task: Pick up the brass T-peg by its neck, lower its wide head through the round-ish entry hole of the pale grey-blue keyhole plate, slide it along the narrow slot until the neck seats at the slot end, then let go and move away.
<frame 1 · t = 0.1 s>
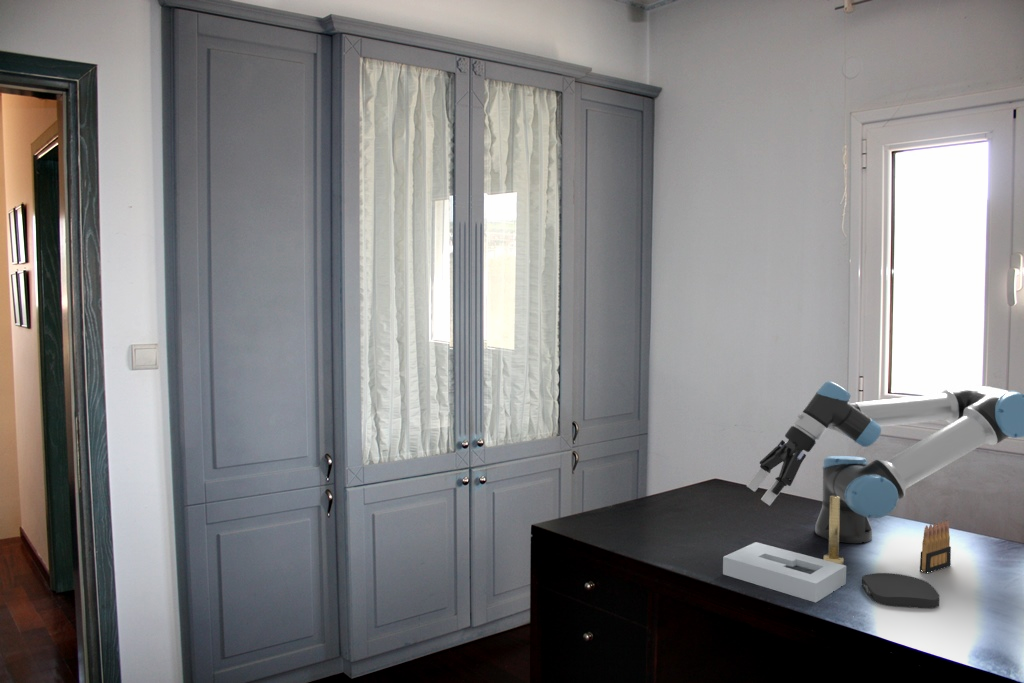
hand: (757, 495, 208), 15 cm above the table, tool tilted 35°, fingers open, 13 cm apart
media streaming box: (899, 596, 179), on the table
ammunition clip: (935, 569, 196), on the table
brass peg: (833, 564, 198), on the table
keyhole plate: (783, 578, 189), on the table
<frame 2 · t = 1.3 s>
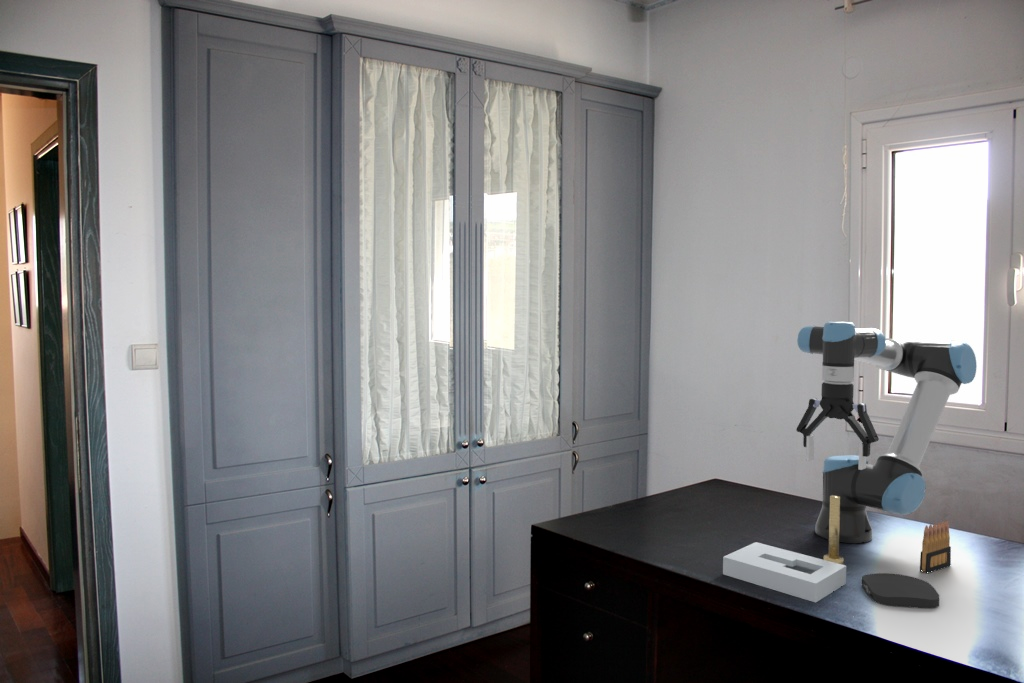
hand: (835, 464, 197), 26 cm above the table, tool pointing down, fingers open, 13 cm apart
nothing on the table moved.
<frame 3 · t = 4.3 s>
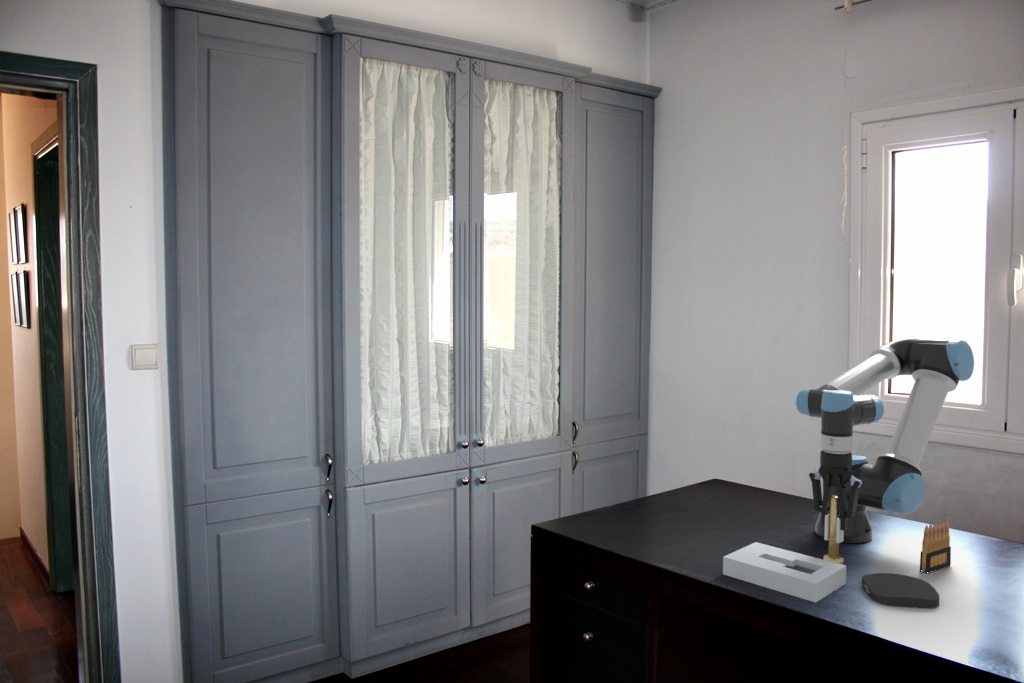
hand: (833, 540, 198), 7 cm above the table, tool pointing down, fingers closed on brass peg, 2 cm apart
brass peg: (833, 564, 198), on the table, touching gripper
everything else where it was.
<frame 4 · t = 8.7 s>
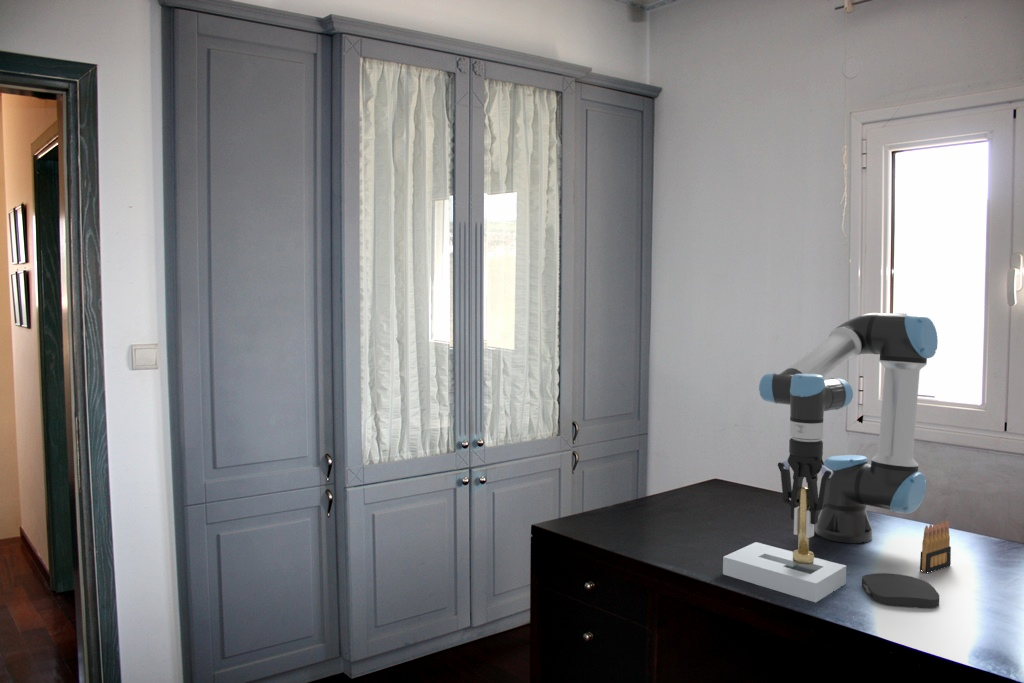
hand: (803, 534, 184), 12 cm above the table, tool pointing down, fingers closed on brass peg, 2 cm apart
brass peg: (803, 561, 185), point 6 cm above the table, touching gripper
everything else where it was.
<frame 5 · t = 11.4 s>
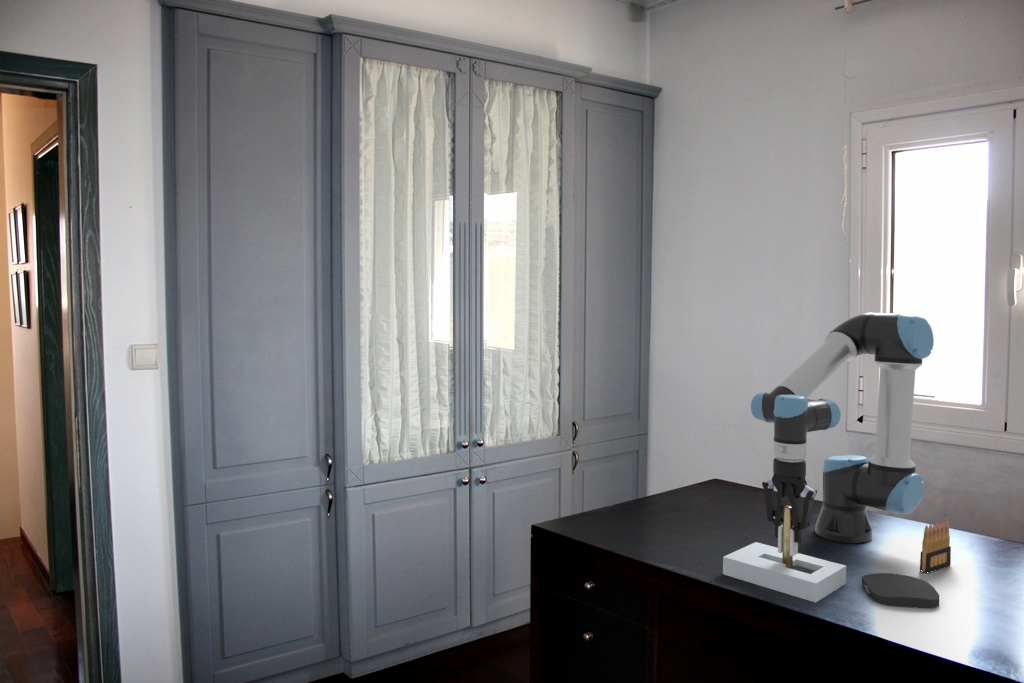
hand: (787, 552, 188), 7 cm above the table, tool pointing down, fingers closed on brass peg, 2 cm apart
brass peg: (787, 578, 188), resting in keyhole plate, touching gripper
everything else where it was.
when the fingers open (7 cm above the table, at t = 13.4 s): brass peg stays where it is, resting in keyhole plate.
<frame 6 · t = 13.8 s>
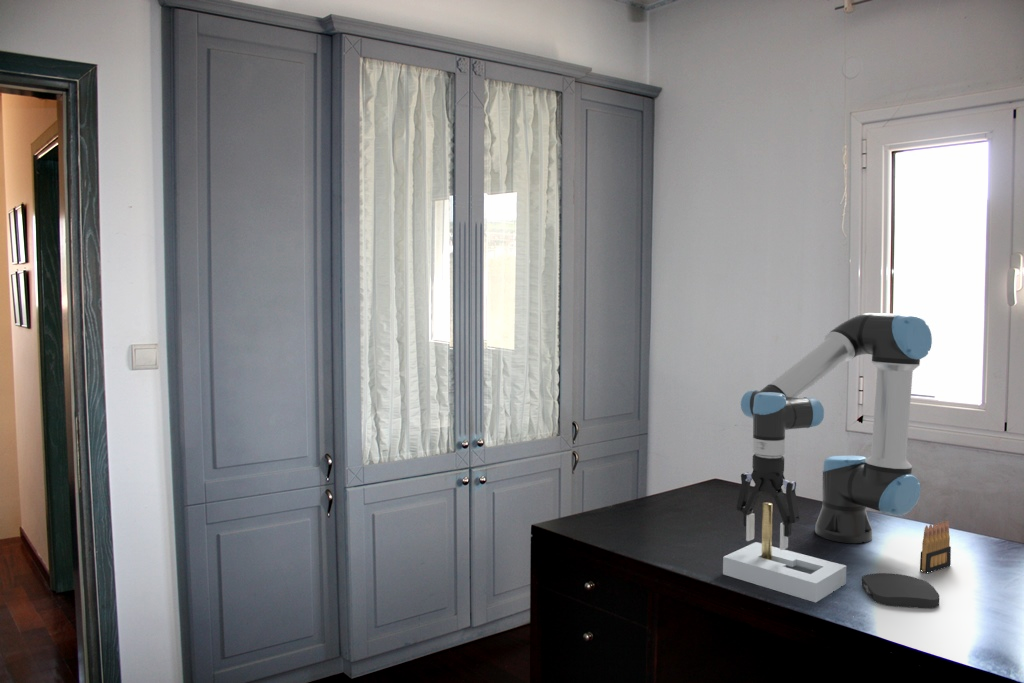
hand: (766, 543, 192), 8 cm above the table, tool pointing down, fingers open, 8 cm apart
brass peg: (766, 574, 192), resting in keyhole plate
everything else where it was.
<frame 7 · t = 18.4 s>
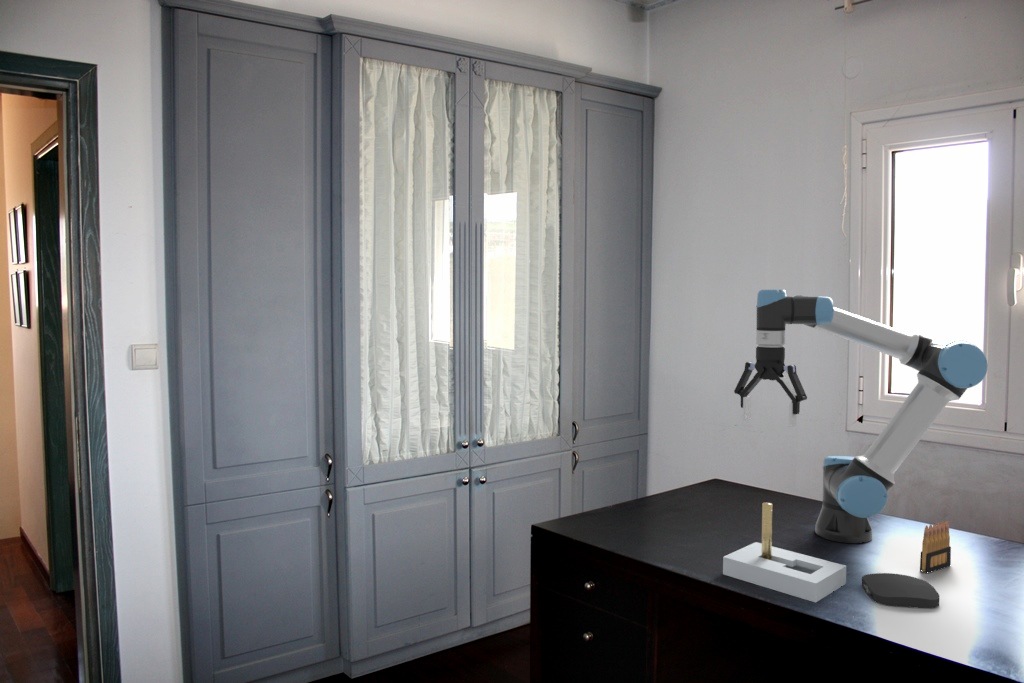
hand: (768, 422, 210), 35 cm above the table, tool pointing down, fingers open, 13 cm apart
nothing on the table moved.
at the end: brass peg 0.1 cm from the target spot on the keyhole plate, point 0.0 cm above the keyhole plate's base; brass peg tilted 0°; the gripper is holding nothing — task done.
